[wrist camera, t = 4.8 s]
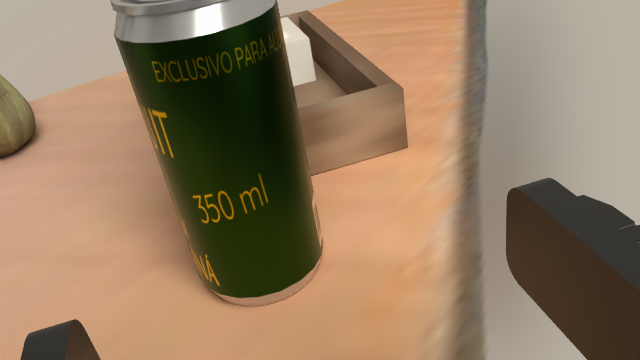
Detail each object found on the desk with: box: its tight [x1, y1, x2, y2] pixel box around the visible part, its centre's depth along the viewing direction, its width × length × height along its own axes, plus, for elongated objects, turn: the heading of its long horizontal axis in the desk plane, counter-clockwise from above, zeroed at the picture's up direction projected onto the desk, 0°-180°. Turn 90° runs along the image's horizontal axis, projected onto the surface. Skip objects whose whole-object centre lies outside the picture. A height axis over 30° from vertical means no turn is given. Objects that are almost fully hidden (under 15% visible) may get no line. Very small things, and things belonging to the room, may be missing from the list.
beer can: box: [110, 0, 323, 306], centre depth 21 cm, size 5×5×12 cm
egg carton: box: [281, 17, 316, 86], centre depth 40 cm, size 8×6×4 cm
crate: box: [280, 11, 408, 176], centre depth 37 cm, size 12×18×4 cm, turn 17°
